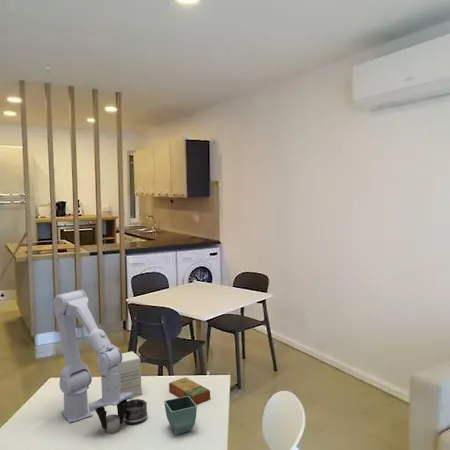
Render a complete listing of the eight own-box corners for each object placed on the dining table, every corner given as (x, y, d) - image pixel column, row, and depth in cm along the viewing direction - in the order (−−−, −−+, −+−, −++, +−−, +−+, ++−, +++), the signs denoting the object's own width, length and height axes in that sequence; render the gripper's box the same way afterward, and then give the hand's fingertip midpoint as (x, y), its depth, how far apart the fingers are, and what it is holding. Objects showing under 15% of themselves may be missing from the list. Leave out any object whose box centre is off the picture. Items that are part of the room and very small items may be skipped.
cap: (102, 429, 150) (101, 417, 149) (116, 424, 153) (116, 412, 152) (108, 435, 146) (107, 423, 145) (122, 430, 149) (122, 418, 148)
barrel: (118, 417, 157) (117, 403, 157) (140, 410, 162) (140, 396, 162) (128, 427, 150) (128, 413, 150) (151, 419, 155) (151, 405, 155)
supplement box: (112, 392, 177) (110, 355, 176) (134, 386, 182) (132, 350, 181) (119, 401, 169) (117, 362, 168) (142, 395, 174) (140, 357, 173)
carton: (186, 386, 182) (185, 376, 181) (211, 400, 169) (210, 389, 169) (168, 392, 176) (168, 382, 176) (193, 407, 164) (192, 396, 164)
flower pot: (164, 426, 151) (163, 400, 150) (189, 420, 154) (188, 395, 153) (172, 439, 143) (171, 411, 142) (198, 432, 146) (197, 406, 145)
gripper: (93, 396, 140) (95, 438, 141) (136, 383, 149) (137, 423, 150) (85, 388, 146) (87, 428, 147) (127, 377, 155) (128, 415, 156)
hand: (112, 425), depth 149 cm, fingers closed on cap, 5 cm apart
